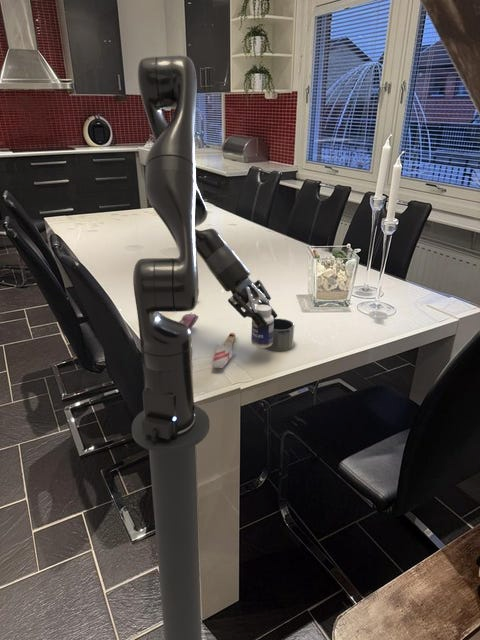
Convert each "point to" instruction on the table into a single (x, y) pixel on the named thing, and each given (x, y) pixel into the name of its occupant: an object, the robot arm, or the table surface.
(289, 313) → the table surface
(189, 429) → the robot arm
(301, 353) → the table surface
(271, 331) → the pill bottle
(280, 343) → the holder
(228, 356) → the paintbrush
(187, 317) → the video game controller
